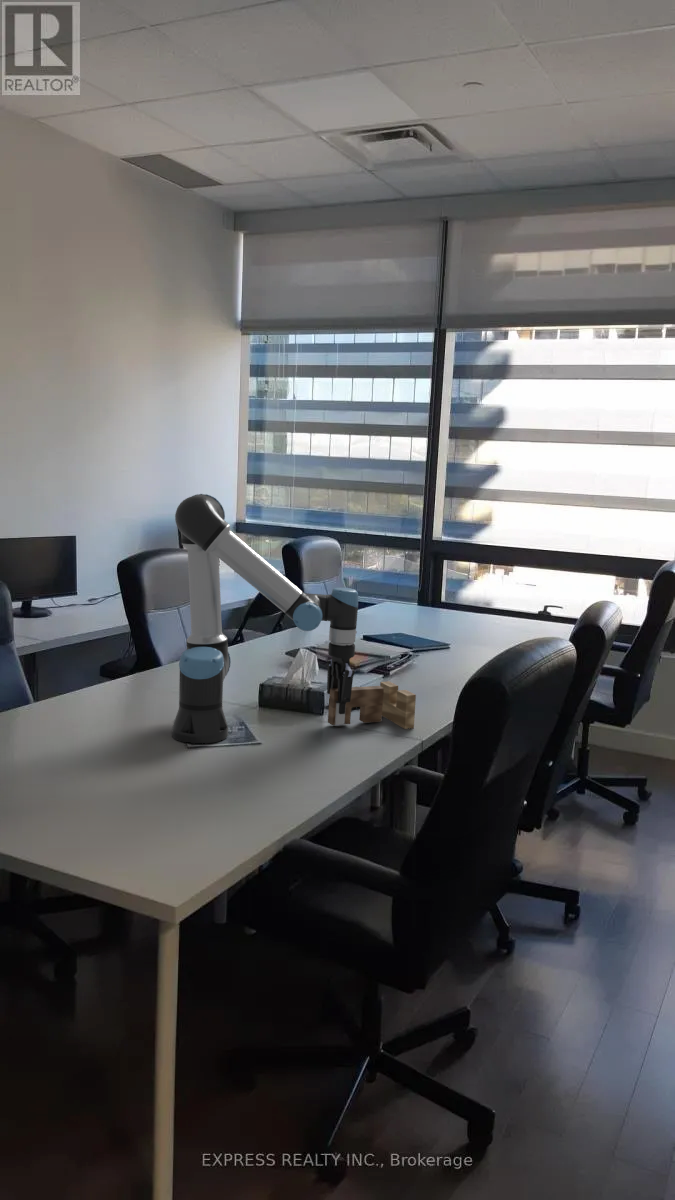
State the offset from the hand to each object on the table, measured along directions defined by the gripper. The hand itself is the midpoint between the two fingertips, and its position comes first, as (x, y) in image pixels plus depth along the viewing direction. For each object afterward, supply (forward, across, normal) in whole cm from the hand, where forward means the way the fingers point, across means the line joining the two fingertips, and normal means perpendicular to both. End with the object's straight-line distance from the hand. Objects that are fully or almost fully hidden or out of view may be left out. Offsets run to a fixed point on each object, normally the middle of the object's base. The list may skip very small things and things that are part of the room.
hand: (336, 722), depth 260 cm
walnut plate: (0, 0, -6) cm, 6 cm away
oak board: (+1, 0, -20) cm, 20 cm away
